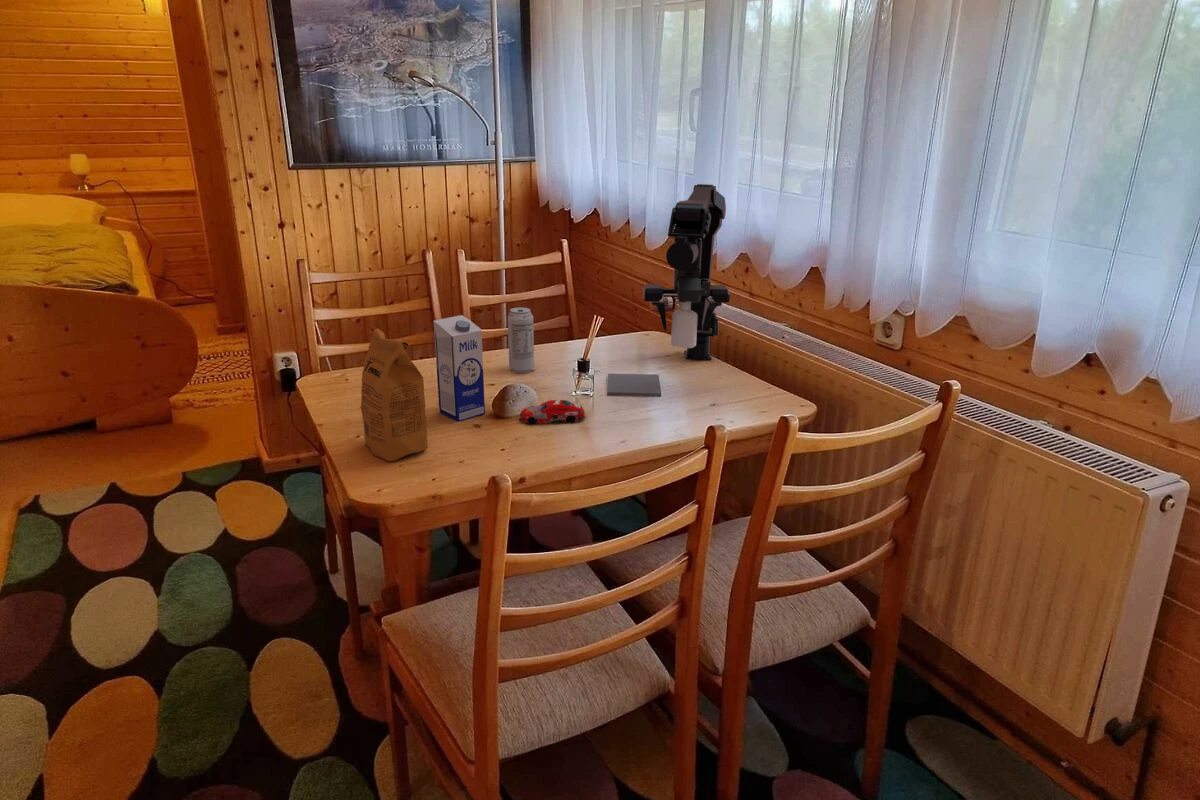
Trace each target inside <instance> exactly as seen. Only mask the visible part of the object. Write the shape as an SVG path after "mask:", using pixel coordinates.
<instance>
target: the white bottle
mask: <svg viewBox="0 0 1200 800" xmlns="http://www.w3.org/2000/svg"><path fill="white" fill-rule="evenodd" d="M690 309H691V302H680V301H679V309H676V310H674V311H673V312H672V316H671V317H672V318H671V331H670V333H671V337H670V345H672V346H675V347H677V348H683V349H687V348H693V347H695V346H696V338H697V320H698V315H697V313H695V312H694V311H692V310H690Z"/></svg>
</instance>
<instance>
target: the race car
mask: <svg viewBox="0 0 1200 800" xmlns="http://www.w3.org/2000/svg"><path fill="white" fill-rule="evenodd" d="M519 419H520V421H522V423H525V424H528V425H529V426H531V425H532V426H533V425H534V426H535V425H537V424H538V425H539V424H541V425H543V424H563V423H566V424H574V423H577V422H581V421H583V420H584V419H585V410H584V408H583V405H582V403H579V402H574V401H571V400H568V399H567V400H566V399H551V400H547V401H545V402H542V403H541V404H536V405H532V406H528V407H524V408H523V409H522V410H521V411H520V413H519Z"/></svg>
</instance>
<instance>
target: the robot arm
mask: <svg viewBox="0 0 1200 800" xmlns="http://www.w3.org/2000/svg"><path fill="white" fill-rule="evenodd" d="M726 211H727V205H726V198H725V196H723V195H722V194H721V193H720V192H719V191H717V186H716V185H714V184H708V183H707V184H706V183H705V184H704V183H703V184H702V183H697V184H695V185H693V189H692V192H691V194H690V195H689V197H688V199H686V200H679V201H678V202H676V203H675V207H672V210H671V214H670V215H671V216H670V220H669V227H668V232H667V237H672V238H674V242H673V243H672V244H671V245H669V248H667V251H666V254H665V256H666V262H667V264H668V265H669V266H670V267H671V268H672V269H674V270H673V272H674V273H673V287H672V288H668V287H667V288H665V287H664V288H663V286H662V284H661V283H646V284H645V285H644V286H643V290H642V292H643V293H642V295H643V296H642V297H643V301H644V302H650V304H651V305H652V306H656V308H657V310H658V313H659V316H660V320H661V323H662V328H663V331H664V332H666V331H667V316H666V303H665V298H677V300H678V302H679V303H680V302H691V309H690V310H692V311H694V312H695V313H697V315H698V320H697V338H696V346H695V347H693V348H686V350H684V353H683V354H684V357H685V359H686V360H693V361H694V360H698V361H699V360H700V361H701V360H702V361H711V360H712V359H713V358H712V356H711V352H710V342H711V341H710V340H711V337H712V338H714V337H716V336H719V329H720V328H719V327H720V326H719V318H718V317H717V313H716V312H715V309H716V308H717V307H721V306H722V305H723V304H724V303H730V301H731V291H730V290H729V289H728V287H727V286H726V285H725V284H711V280H712V270H713V259H714V258H713V257H714V256H713V255H714V246H715V243H714V242H715V236H716V234H718V232H719V230H721V228H722V227H723V226H722V225H723V220H725V219H726V214H727V212H726Z"/></svg>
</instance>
